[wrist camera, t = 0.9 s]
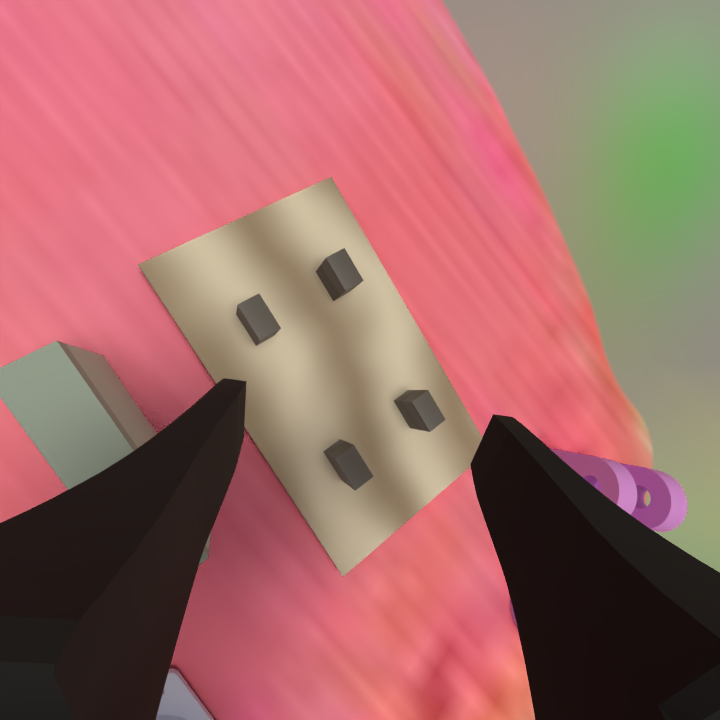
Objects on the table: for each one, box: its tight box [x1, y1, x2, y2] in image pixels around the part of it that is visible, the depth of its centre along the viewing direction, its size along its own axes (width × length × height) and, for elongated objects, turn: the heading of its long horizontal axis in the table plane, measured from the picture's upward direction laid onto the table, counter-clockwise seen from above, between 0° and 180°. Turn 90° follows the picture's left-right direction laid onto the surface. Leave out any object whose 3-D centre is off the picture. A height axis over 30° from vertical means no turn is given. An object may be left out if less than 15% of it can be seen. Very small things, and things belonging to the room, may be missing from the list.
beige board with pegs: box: [138, 177, 482, 576], centre depth 22 cm, size 12×20×4 cm, turn 33°
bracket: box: [511, 449, 687, 628], centre depth 25 cm, size 13×6×7 cm, turn 167°
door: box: [0, 341, 211, 565], centre depth 17 cm, size 2×10×6 cm, turn 32°
